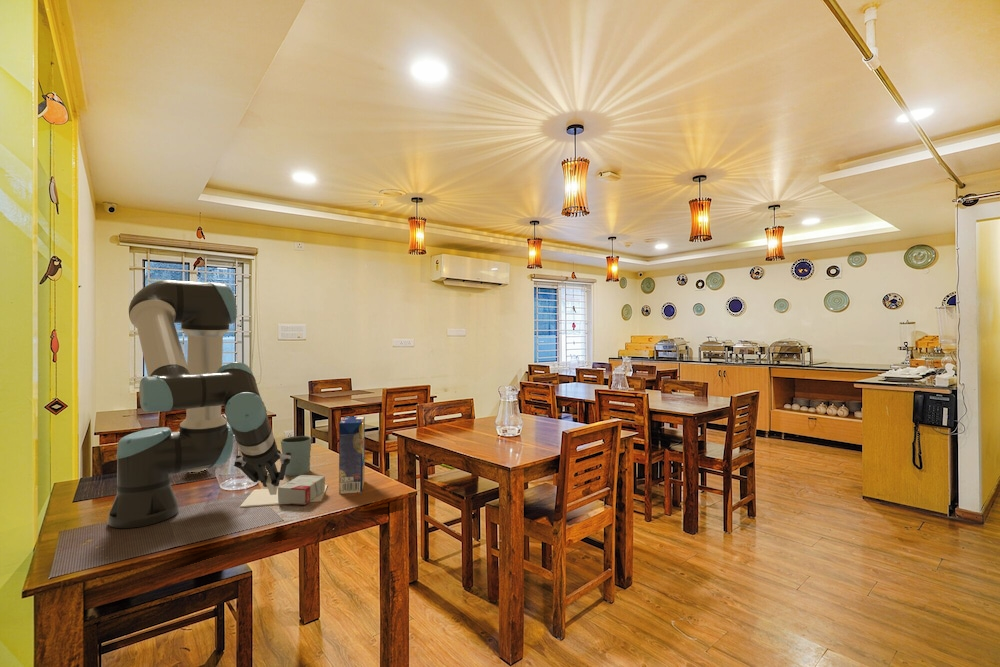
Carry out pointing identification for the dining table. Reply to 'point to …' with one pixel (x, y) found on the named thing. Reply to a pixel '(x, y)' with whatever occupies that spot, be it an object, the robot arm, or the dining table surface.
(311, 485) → the ink box
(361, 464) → the beverage box
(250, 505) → the mat
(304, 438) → the green tapered cup
